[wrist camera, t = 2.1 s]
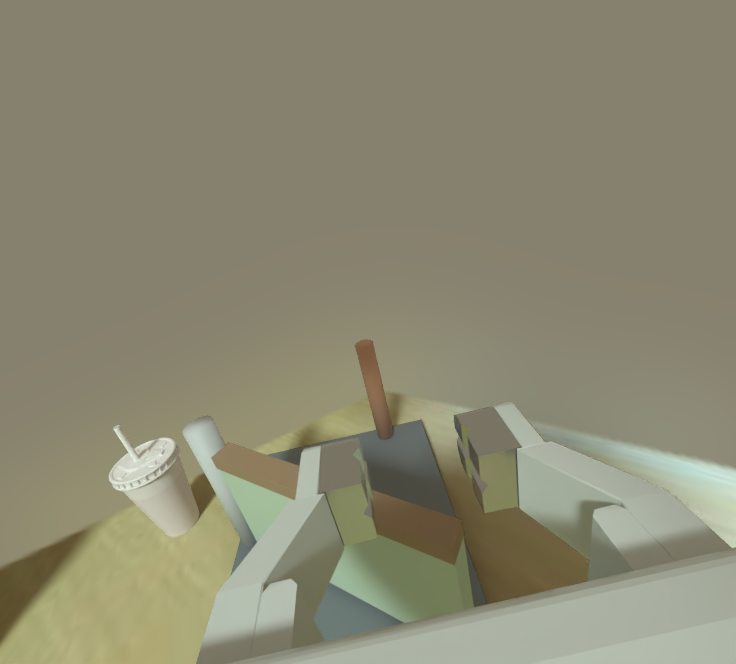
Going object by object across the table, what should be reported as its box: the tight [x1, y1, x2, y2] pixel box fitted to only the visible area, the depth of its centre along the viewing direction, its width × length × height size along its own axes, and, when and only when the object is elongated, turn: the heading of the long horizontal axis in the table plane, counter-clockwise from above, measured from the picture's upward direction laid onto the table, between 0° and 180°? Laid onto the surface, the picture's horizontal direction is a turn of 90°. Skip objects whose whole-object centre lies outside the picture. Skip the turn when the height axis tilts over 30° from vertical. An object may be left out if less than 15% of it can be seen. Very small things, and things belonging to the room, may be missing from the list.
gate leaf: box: [211, 443, 474, 623], centre depth 25 cm, size 20×2×11 cm, turn 60°
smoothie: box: [109, 425, 200, 537], centre depth 36 cm, size 6×6×14 cm
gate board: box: [183, 340, 487, 641], centre depth 31 cm, size 21×24×15 cm
